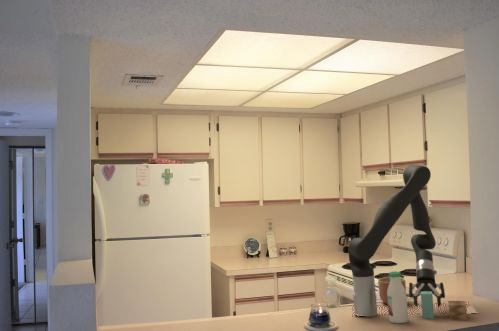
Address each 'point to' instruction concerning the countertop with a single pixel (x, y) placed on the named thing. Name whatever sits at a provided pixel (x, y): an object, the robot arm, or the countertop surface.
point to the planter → (386, 287)
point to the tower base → (458, 316)
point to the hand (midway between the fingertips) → (427, 305)
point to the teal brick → (427, 304)
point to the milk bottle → (397, 299)
